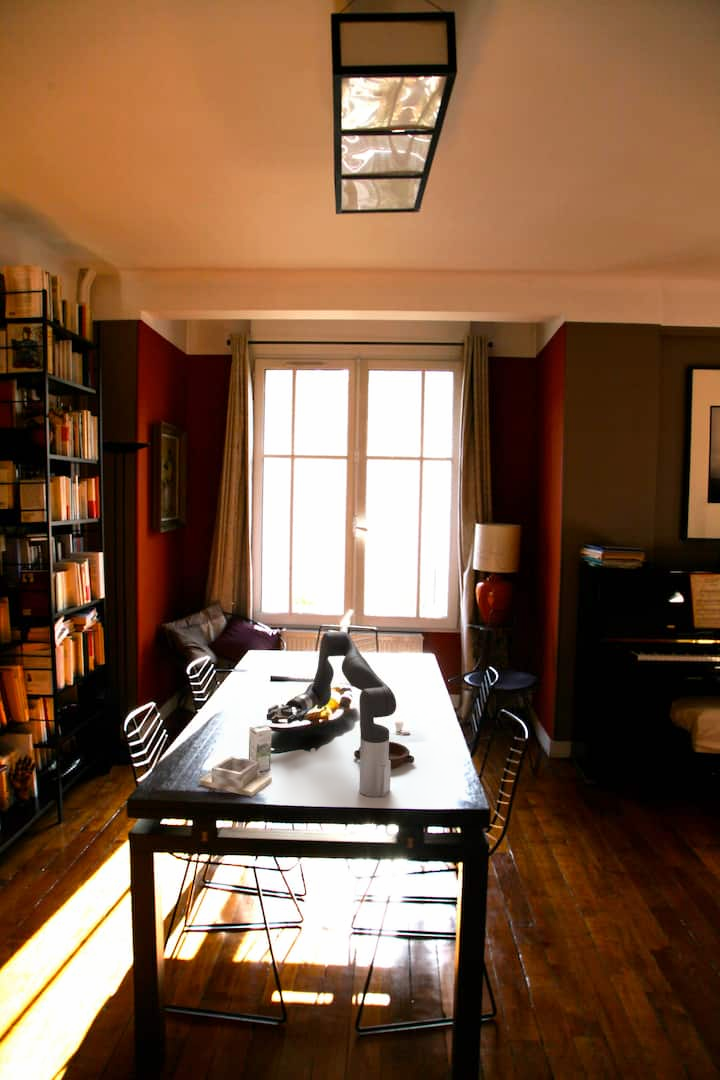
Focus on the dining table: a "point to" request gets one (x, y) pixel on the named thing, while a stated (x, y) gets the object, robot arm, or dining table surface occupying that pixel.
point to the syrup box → (260, 746)
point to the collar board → (236, 776)
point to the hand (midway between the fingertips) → (277, 719)
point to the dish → (395, 754)
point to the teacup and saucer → (400, 728)
